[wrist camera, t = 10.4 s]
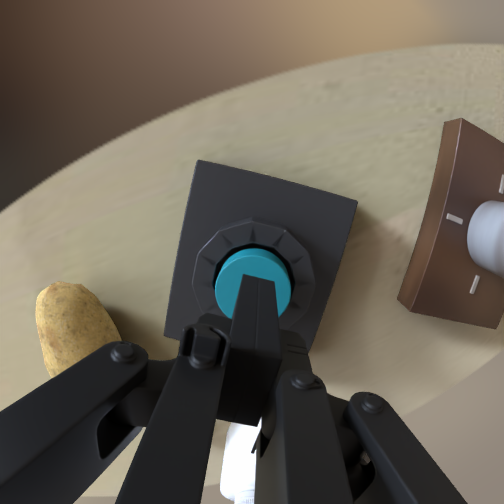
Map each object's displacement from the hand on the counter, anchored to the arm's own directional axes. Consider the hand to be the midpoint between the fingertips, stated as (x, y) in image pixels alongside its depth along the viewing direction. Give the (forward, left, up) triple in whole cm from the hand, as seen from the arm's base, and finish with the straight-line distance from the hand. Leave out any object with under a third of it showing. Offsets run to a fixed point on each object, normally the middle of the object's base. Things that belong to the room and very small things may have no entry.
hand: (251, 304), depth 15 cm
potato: (-9, +11, -7) cm, 16 cm away
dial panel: (+7, -16, -7) cm, 19 cm away
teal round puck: (0, 0, -4) cm, 4 cm away
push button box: (0, 0, -7) cm, 7 cm away
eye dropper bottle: (-14, -4, -7) cm, 16 cm away
